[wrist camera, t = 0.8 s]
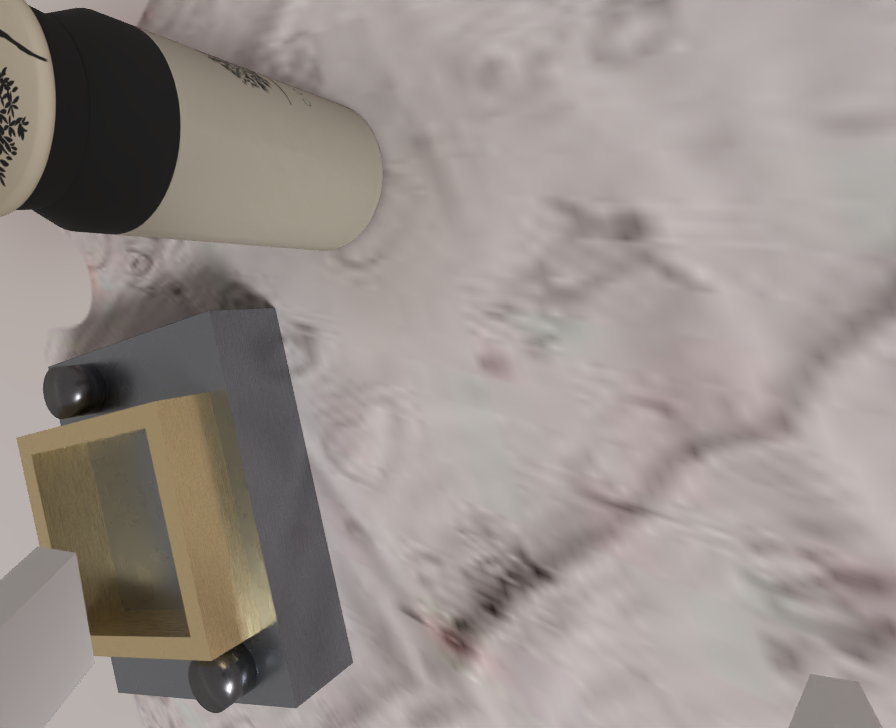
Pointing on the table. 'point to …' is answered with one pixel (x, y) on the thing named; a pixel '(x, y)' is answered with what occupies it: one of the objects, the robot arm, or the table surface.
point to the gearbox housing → (191, 513)
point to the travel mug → (172, 140)
